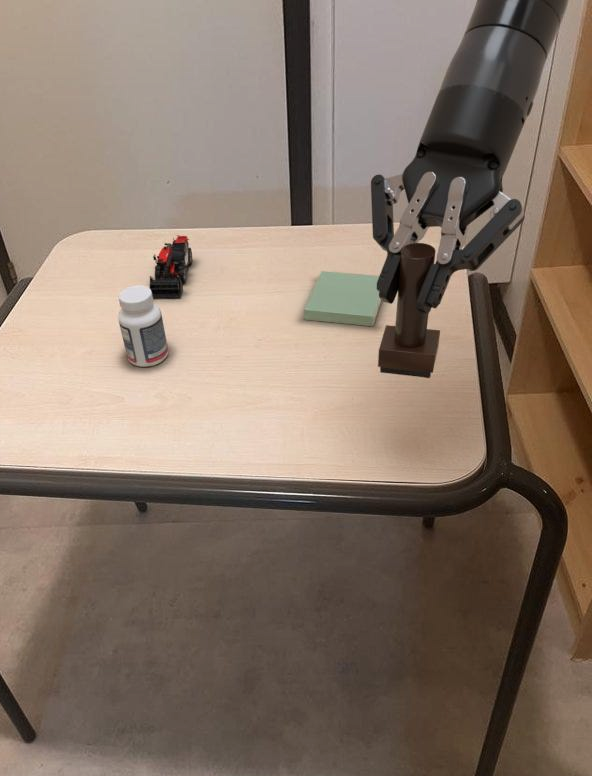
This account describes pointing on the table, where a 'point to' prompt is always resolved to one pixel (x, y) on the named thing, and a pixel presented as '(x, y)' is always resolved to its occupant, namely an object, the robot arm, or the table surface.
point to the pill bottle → (142, 327)
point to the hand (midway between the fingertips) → (403, 304)
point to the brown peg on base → (410, 320)
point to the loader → (171, 268)
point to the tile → (344, 299)
